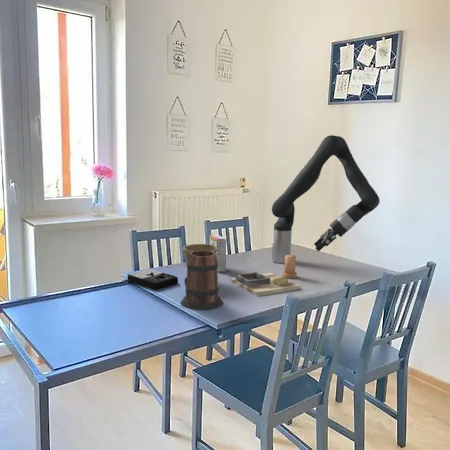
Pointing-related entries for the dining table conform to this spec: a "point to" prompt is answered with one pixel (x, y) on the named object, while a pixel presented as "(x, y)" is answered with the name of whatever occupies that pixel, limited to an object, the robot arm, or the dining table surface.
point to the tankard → (202, 282)
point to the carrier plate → (264, 283)
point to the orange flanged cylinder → (290, 267)
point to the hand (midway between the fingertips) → (316, 247)
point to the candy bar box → (219, 251)
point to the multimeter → (152, 279)
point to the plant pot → (197, 249)
